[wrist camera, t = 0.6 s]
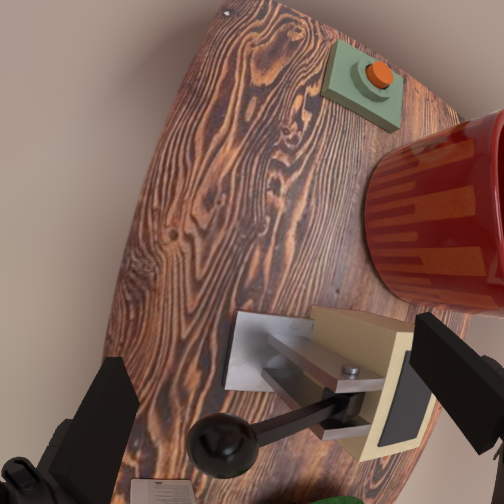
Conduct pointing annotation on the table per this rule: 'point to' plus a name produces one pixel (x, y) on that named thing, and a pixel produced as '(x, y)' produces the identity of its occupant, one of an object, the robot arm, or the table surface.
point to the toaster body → (386, 365)
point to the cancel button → (379, 75)
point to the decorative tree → (333, 501)
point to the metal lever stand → (293, 367)
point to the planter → (442, 218)
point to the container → (161, 492)
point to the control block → (361, 87)
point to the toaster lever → (258, 433)
